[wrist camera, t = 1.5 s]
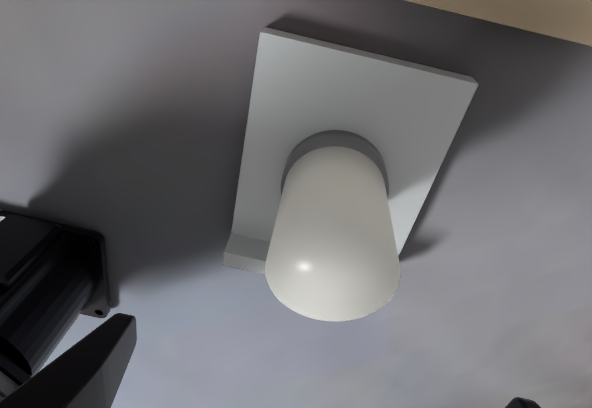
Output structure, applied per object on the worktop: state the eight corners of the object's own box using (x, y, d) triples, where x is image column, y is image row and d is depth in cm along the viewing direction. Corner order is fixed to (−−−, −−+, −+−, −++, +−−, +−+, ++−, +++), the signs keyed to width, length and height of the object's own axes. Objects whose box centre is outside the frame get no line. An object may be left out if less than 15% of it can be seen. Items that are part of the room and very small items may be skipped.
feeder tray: (385, 267, 20) (389, 302, 18) (234, 233, 20) (222, 264, 18) (470, 76, 15) (490, 96, 13) (264, 26, 15) (252, 39, 13)
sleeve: (368, 228, 18) (379, 335, 13) (276, 207, 18) (250, 308, 13) (400, 143, 16) (429, 235, 11) (295, 118, 15) (273, 200, 10)
